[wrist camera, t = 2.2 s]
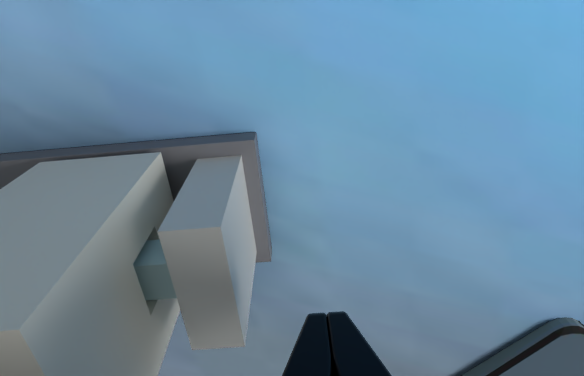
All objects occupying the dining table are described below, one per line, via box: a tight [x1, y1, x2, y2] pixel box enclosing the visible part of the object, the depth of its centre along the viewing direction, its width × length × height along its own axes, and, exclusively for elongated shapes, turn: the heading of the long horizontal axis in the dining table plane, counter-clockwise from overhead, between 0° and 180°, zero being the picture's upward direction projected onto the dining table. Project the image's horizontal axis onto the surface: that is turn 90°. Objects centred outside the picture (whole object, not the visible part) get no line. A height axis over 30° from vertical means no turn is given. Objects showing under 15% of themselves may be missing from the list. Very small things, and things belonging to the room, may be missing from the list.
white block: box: [0, 152, 180, 376], centre depth 10 cm, size 5×4×7 cm
